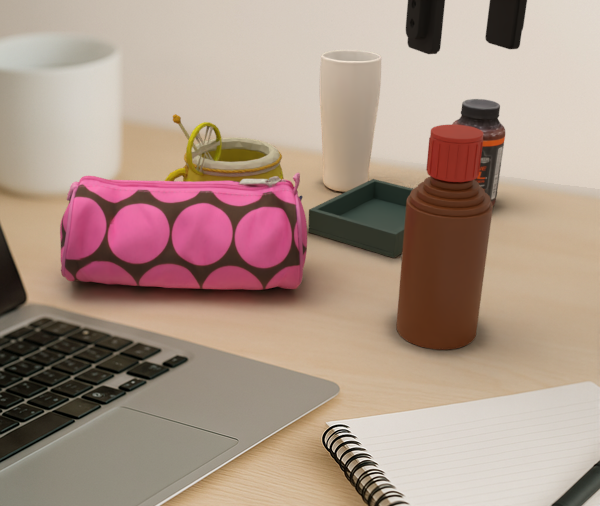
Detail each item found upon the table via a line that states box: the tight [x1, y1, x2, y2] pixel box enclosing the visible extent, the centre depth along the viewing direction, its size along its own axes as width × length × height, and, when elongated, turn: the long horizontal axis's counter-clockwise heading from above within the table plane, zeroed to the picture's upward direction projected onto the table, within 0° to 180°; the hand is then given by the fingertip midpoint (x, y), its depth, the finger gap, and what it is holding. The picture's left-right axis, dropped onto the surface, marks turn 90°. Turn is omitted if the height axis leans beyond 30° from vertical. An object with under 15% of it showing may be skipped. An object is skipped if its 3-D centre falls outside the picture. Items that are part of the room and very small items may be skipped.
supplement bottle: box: [451, 98, 506, 207], centre depth 90 cm, size 6×6×11 cm
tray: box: [307, 178, 414, 259], centre depth 86 cm, size 12×10×2 cm
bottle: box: [396, 176, 494, 351], centre depth 63 cm, size 6×6×16 cm
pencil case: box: [59, 171, 308, 291], centre depth 72 cm, size 21×10×10 cm, turn 93°
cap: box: [425, 124, 483, 182], centre depth 60 cm, size 4×4×3 cm
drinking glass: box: [319, 49, 382, 193], centre depth 94 cm, size 7×7×15 cm
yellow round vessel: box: [164, 113, 285, 182], centre depth 83 cm, size 13×11×12 cm
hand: (463, 45), depth 57 cm, fingers open, 5 cm apart
